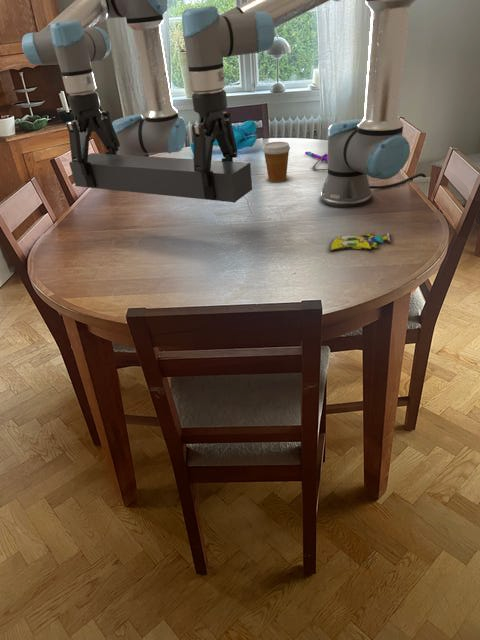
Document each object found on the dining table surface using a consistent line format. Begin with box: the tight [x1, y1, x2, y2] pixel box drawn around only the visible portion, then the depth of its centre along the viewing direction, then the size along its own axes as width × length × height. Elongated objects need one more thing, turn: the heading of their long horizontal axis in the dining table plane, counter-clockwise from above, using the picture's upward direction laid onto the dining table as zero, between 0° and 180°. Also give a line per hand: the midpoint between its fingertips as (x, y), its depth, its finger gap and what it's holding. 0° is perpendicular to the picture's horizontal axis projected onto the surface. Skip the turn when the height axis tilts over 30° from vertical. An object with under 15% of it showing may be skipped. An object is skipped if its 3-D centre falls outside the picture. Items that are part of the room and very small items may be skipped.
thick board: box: [68, 152, 253, 203], centre depth 124 cm, size 51×9×7 cm, turn 62°
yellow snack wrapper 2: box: [330, 232, 391, 252], centre depth 122 cm, size 10×1×15 cm
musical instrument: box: [304, 151, 328, 171], centre depth 185 cm, size 24×2×20 cm
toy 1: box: [189, 120, 258, 155], centre depth 209 cm, size 17×11×30 cm
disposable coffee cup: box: [262, 141, 291, 183], centre depth 169 cm, size 10×10×12 cm
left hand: (104, 180), depth 133 cm, fingers closed on thick board, 9 cm apart
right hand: (220, 191), depth 117 cm, fingers closed on thick board, 9 cm apart
